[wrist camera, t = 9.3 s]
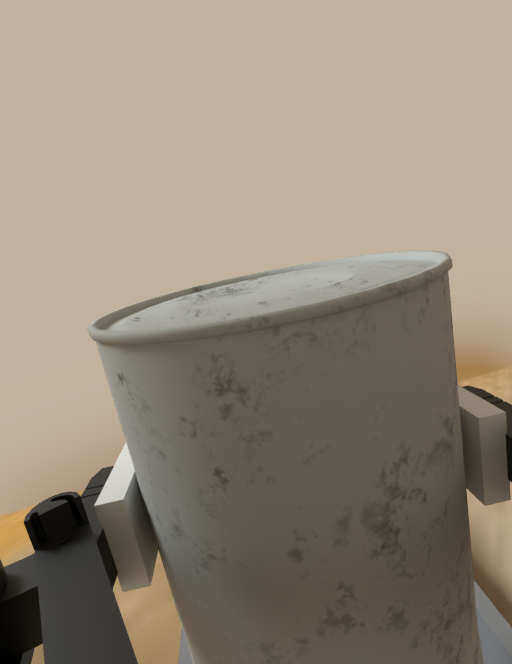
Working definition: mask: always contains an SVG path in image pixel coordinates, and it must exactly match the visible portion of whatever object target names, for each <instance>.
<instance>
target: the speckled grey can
mask: <svg viewBox="0 0 512 664" xmlns="http://www.w3.org/2000/svg"><path fill="white" fill-rule="evenodd" d="M451 268H452V260H451V258H450V256H449V255H448V254H447V253H444V252H438V251H404V252H390V253H381V254H370V255H362V256H355V257H347V258H340V259H333V260H327V261H320V262H314V263H309V264H303V265H297V266H291V267H286V268H281V269H275V270H270V271H264V272H260V273H255V274H250V275H245V276H240V277H236V278H231V279H227V280H222V281H218V282H214V283H209V284H206V285H201V286H197V287H193V288H189V289H185V290H181V291H177V292H174V293H169V294H166V295H163V296H159V297H155V298H152V299H149V300H145V301H142V302H139V303H136V304H133V305H130V306H127V307H124V308H121V309H119V310H116V311H113V312H111V313H108V314H106V315H104V316H102V317H100V318H98V319H96V320H94V321H93V322H92V323H91V324H90V325H89V326H88V332H89V335H90V336H91V337H92V339H93V340H94V341H96V344H97V347H98V351H99V354H100V357H101V361H102V364H103V367H104V370H105V374H106V377H107V380H108V384H109V387H110V390H111V393H112V397H113V400H114V403H115V407H116V410H117V413H118V417H119V420H120V423H121V427H122V430H123V433H124V437H125V440H126V443H127V447H128V450H129V453H130V456H131V460H132V463H133V466H134V470H135V473H136V476H137V480H138V483H139V486H140V490H141V493H142V496H143V499H144V503H145V506H146V509H147V513H148V516H149V519H150V523H151V526H152V529H153V533H154V536H155V539H156V542H157V546H158V549H159V552H160V556H161V559H162V562H163V566H164V569H165V572H166V576H167V579H168V582H169V585H170V589H171V592H172V595H173V599H174V602H175V605H176V609H177V612H178V615H179V619H180V622H181V625H182V628H183V632H184V635H185V638H186V642H187V645H188V648H189V652H190V655H191V658H192V662H193V664H484V661H483V655H482V648H481V642H480V635H479V633H478V625H477V613H476V601H475V589H474V577H473V565H472V553H471V541H470V529H469V517H468V505H467V493H466V481H465V469H464V457H463V445H462V433H461V421H460V409H459V397H458V385H457V374H456V362H455V350H454V337H453V325H452V313H451V301H450V289H449V278H448V271H449V270H450V269H451Z"/></svg>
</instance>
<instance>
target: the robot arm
mask: <svg viewBox="0 0 512 664" xmlns="http://www.w3.org/2000/svg"><path fill="white" fill-rule="evenodd" d="M458 397H459V409H460V421H461V433H462V445H463V457H464V469H465V481H466V488H467V489H468V490H469V491H470V492H471V493H472V494H473V495H474V496H475V497H476V498H477V499H479V500H480V501H481V502H482V503H483V504H484V505H485V506H486V505H491V504H495V503H499V502H503V501H507V500H510V481H511V482H512V405H511V404H509V403H507V402H503V400H501V399H499V398H498V397H494V395H492V394H490V393H488V392H486V391H484V390H482V389H479V388H475V387H471V386H464V387H461V386H459V385H458ZM85 489H86V490H85V491H84V492H83V494H82V495H81V497H80V495H79V494H78V493H77V492H66V493H60V494H57V495H55V496H52V497H50V498H48V499H46V500H45V501H42V502H41V503H39V504H38V505H37V506H35V507H34V508H33V509H31V511H30V512H29V513H28V514H27V515H26V517H25V520H24V524H25V527H26V530H27V532H28V535H29V537H30V540H31V542H32V545H33V548H34V550H35V553H34V554H32V555H30V556H28V557H26V558H24V559H22V560H20V561H17V562H15V563H13V564H10V565H8V566H6V567H3V565H2V562H1V560H0V664H31V661H32V656H33V652H34V648H35V647H37V646H39V645H41V644H43V649H44V660H45V664H138V663H137V660H136V657H135V654H134V651H133V648H132V645H131V642H130V639H129V636H128V633H127V631H126V628H125V625H124V622H123V619H122V616H121V613H120V610H119V607H118V604H117V601H116V598H115V596H114V593H113V586H114V583H115V580H116V577H117V576H118V579H119V582H120V585H121V588H122V591H123V592H125V591H129V590H133V589H138V588H142V587H146V586H150V585H151V581H152V576H153V572H154V567H155V562H156V558H157V553H158V546H157V542H156V539H155V536H154V533H153V529H152V526H151V523H150V519H149V516H148V513H147V509H146V506H145V503H144V499H143V496H142V493H141V490H140V486H139V483H138V480H137V476H136V473H135V470H134V466H133V463H132V460H131V456H130V453H129V450H128V447H127V443H126V444H125V446H124V448H123V450H122V452H121V454H120V455H119V457H118V459H117V462H116V463H115V465H114V466H112V467H107V468H103V469H101V470H100V471H99V472H98V473H97V474H96V475H95V476H94V477H92V478H91V480H90V482H89V483H88V485H87V487H86V488H85Z"/></svg>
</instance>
